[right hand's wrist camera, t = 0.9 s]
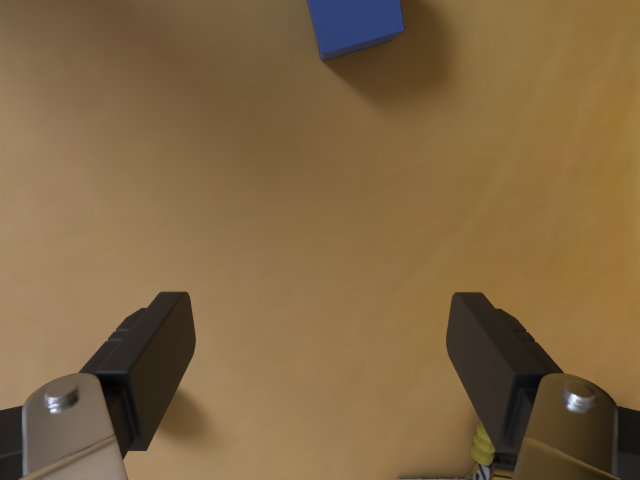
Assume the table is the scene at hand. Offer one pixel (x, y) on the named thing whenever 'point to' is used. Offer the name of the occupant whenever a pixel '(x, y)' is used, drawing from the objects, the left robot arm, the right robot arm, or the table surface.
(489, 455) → the toy gun
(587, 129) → the table surface
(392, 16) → the block
